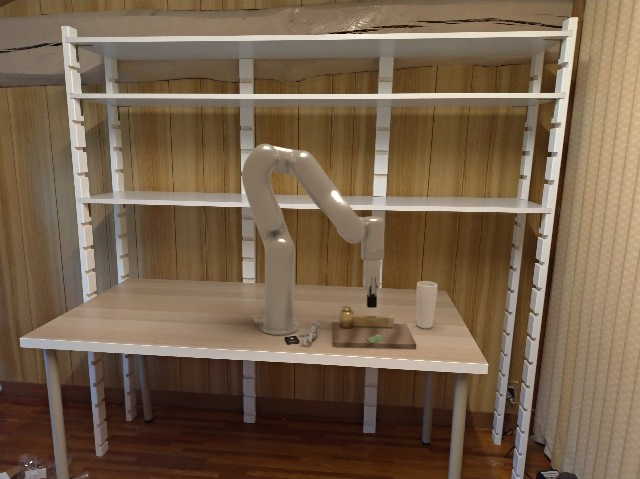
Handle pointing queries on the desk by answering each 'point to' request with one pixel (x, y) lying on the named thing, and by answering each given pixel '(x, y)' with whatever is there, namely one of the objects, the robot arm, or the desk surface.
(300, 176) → the robot arm
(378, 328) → the wooden cutting board
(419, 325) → the drinking glass
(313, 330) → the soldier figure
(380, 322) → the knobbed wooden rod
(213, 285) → the desk surface
